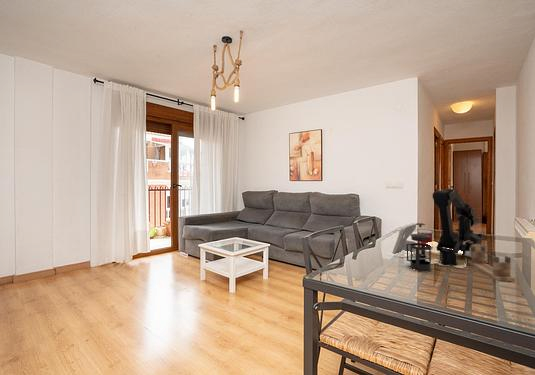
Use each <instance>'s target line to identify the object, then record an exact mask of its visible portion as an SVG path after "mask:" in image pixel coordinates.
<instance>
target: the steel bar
mask: <svg viewBox="0 0 535 375" xmlns="http://www.w3.org/2000/svg"><path fill="white" fill-rule="evenodd" d="M464 256H466V257H470V258H471V249H469V250H466V249H465V252H464ZM487 260H488V254H487V253H485V261H487Z"/></svg>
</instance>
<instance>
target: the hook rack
mask: <svg viewBox="0 0 535 375" xmlns="http://www.w3.org/2000/svg"><path fill="white" fill-rule="evenodd" d="M470 250H471V257H470V260H467V264H468V265H470V266H471V267H473V268H474V269H476V270H478V271H479V272H481V273H483V274H484V275H487V276H489V277H490V278H492V279H493V280H495V281H496V282H504V283H505V282H508V281H512V282H511V283H514V282H516V280H515V279H516V278H515V277H513V276H512V275H511V265H512V264H511V262H512V260H511V257H510V256H507V255H505V256H504V261H500V257H499V256H497V255H493V258H492V259H493V260H492V261H493V264H492V265H493V266H491V265H490V264H487V263H486V260H485V254H486V246H483V245H481V246H480V250H476V246H474V245H472V246H471V247H470Z"/></svg>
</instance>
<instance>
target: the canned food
mask: <svg viewBox="0 0 535 375" xmlns="http://www.w3.org/2000/svg"><path fill="white" fill-rule="evenodd" d="M417 234H420V229H419V230H417ZM421 234H426V235H430V236H431V237H430V238H429V239H427V240H426V241H424V242H421V243H424V244H426V243H428V242H432V243H433V231H431V230H428V229H427V230H425V229H423V230H422V229H421ZM417 243H420V241H417ZM417 247H420V246H417Z"/></svg>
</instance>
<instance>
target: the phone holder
mask: <svg viewBox="0 0 535 375" xmlns="http://www.w3.org/2000/svg"><path fill="white" fill-rule="evenodd" d="M416 228H417V225H416V223H414V222H413V223H410V224H405V225H403V226H402V227H401V228H400V231H399V233H398V236H397V239H396V242H395V244H394V246H393V247H394V248H393V250H392V251H393V252H392V251H391V252H392V253H393V254H396V253H399V252H401V251H402V250H405V251H407V246H406V245H407V244H408V243H409V244H412V243H416V241H414V240H408V238H409V237H411V236H410V235H411V234H413V232H414V231H415V230H416ZM415 247H417V246H415ZM408 251H410V252H411V247H410V245H408ZM415 251H416V249H413V248H412V252H415Z"/></svg>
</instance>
